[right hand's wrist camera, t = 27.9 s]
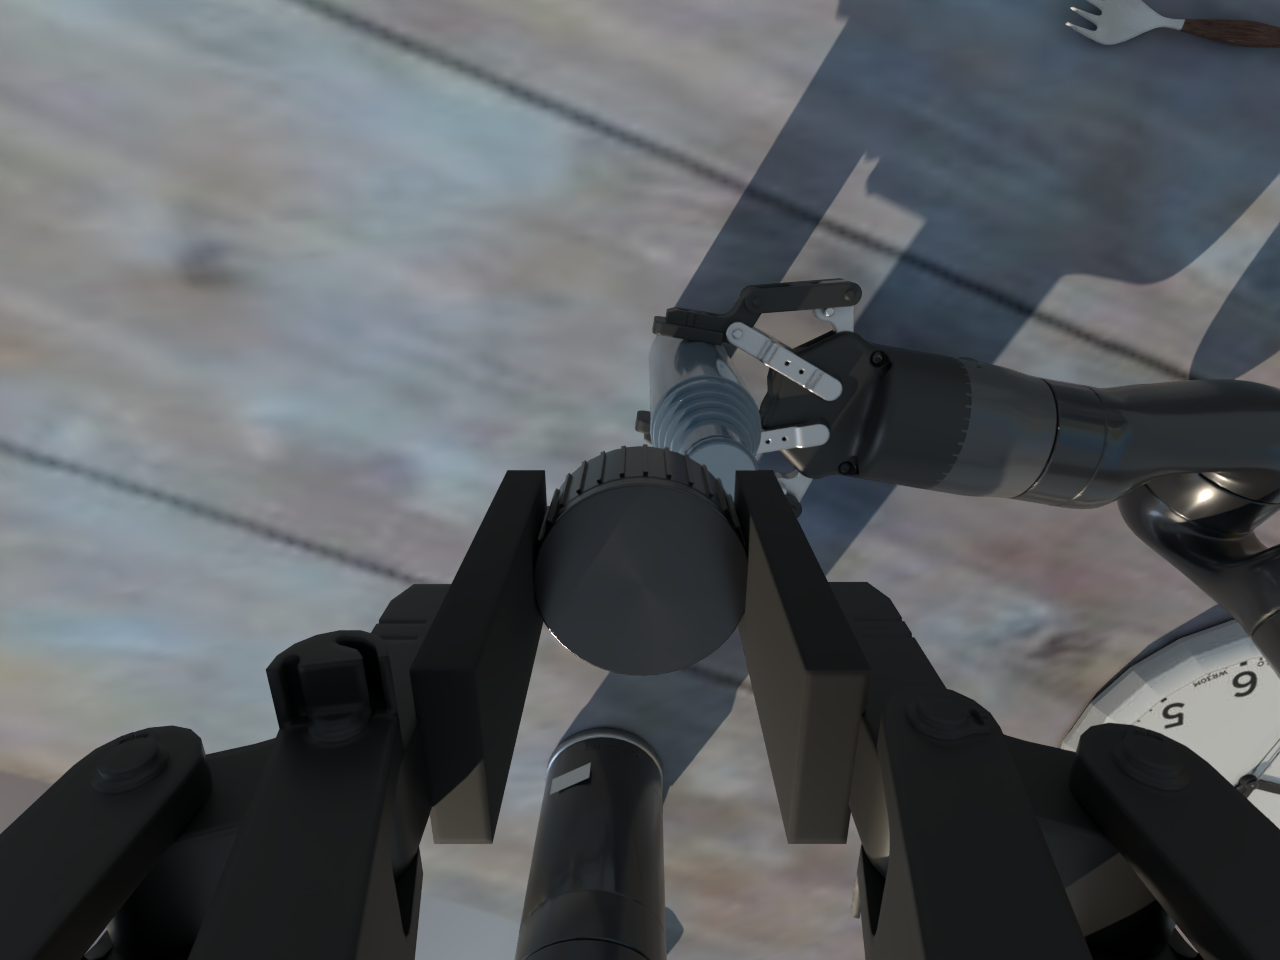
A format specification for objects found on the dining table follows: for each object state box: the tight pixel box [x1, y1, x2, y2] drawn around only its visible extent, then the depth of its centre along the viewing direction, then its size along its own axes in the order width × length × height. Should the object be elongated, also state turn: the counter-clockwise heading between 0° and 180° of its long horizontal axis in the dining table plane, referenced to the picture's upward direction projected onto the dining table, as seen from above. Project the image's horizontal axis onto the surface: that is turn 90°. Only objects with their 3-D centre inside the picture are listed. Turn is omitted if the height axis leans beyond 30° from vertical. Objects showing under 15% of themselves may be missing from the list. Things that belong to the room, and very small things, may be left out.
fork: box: [1066, 0, 1280, 47], centre depth 38 cm, size 3×16×2 cm, turn 83°
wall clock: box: [1060, 619, 1280, 829], centre depth 56 cm, size 30×2×30 cm
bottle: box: [649, 335, 761, 502], centre depth 35 cm, size 5×5×22 cm
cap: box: [533, 444, 748, 675], centre depth 14 cm, size 4×4×2 cm
